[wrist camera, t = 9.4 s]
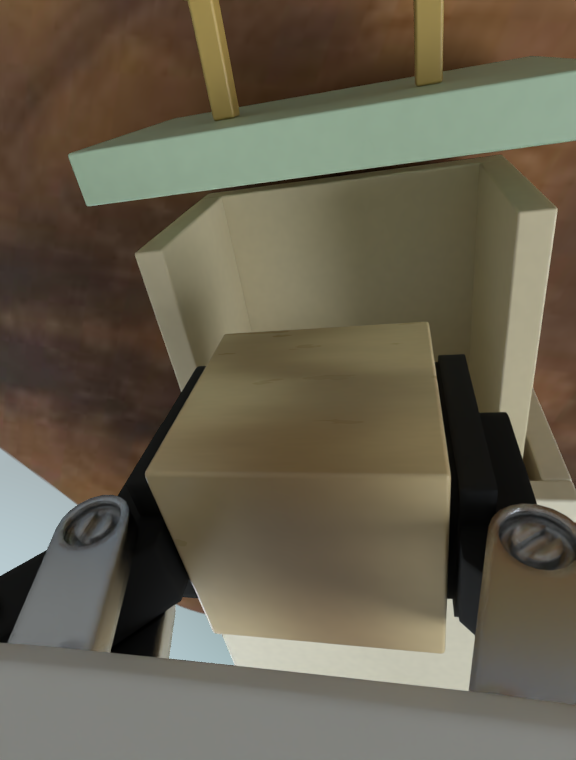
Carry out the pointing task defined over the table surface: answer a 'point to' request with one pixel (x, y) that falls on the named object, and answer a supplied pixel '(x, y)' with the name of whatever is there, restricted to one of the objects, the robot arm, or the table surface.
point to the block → (314, 487)
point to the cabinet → (456, 661)
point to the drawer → (354, 209)
